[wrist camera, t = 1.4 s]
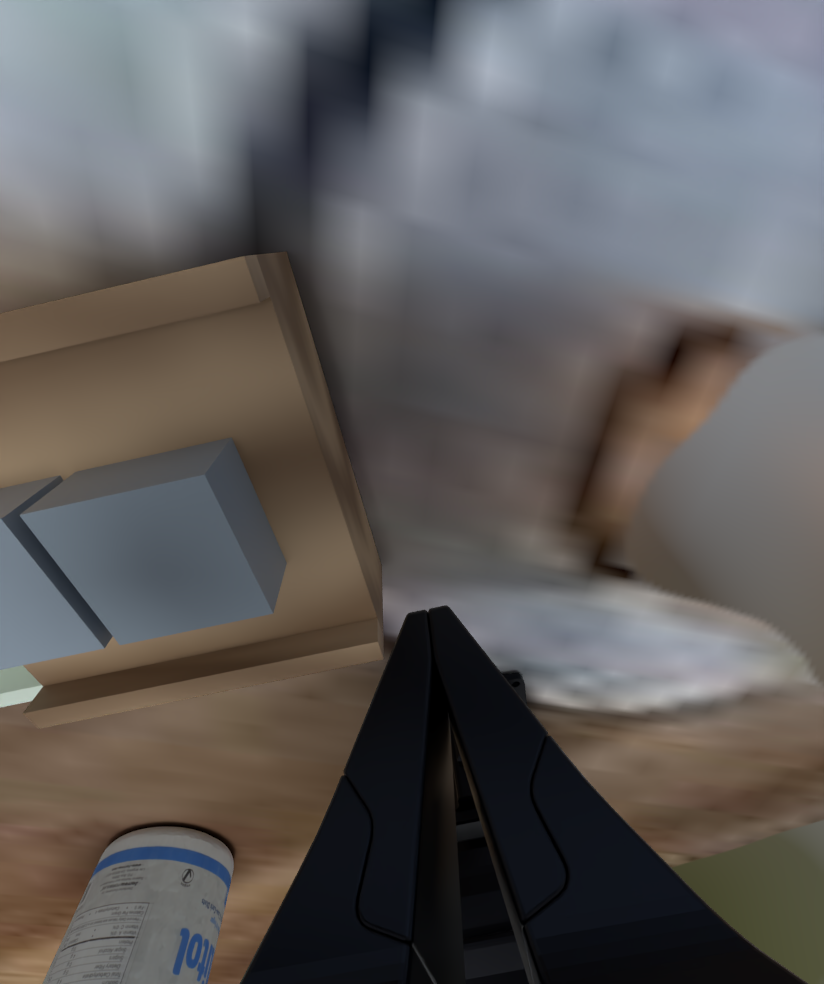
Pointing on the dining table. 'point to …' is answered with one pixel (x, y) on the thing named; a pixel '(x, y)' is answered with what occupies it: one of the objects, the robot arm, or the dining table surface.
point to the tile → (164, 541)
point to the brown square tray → (188, 422)
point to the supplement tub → (148, 911)
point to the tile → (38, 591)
